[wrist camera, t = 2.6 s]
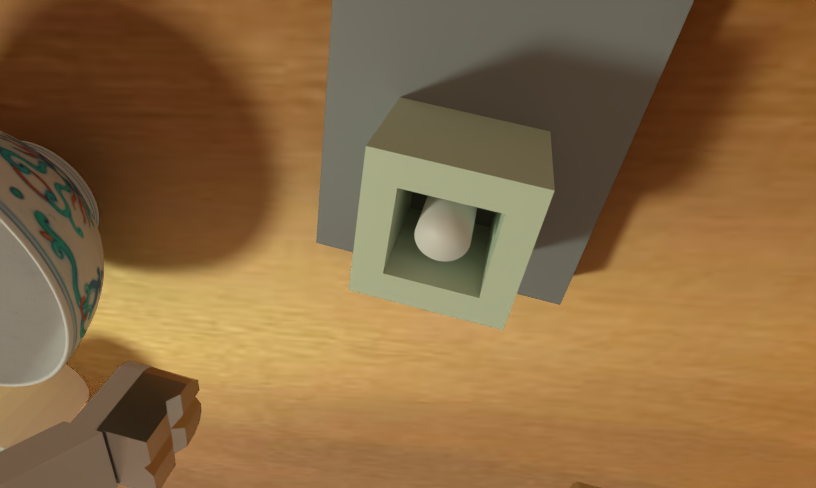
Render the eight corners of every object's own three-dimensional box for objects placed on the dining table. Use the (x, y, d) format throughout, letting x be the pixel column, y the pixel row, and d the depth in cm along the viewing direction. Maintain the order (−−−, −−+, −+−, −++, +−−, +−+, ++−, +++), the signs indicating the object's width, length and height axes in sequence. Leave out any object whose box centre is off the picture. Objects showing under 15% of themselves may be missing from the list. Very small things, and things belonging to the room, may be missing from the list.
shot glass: (92, 366, 38) (15, 447, 33) (100, 419, 42) (33, 500, 37) (6, 336, 38) (-86, 411, 33) (22, 392, 42) (-57, 468, 37)
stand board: (835, -379, 13) (1098, -626, 7) (558, 279, 26) (565, 396, 20) (384, -444, 14) (270, -712, 8) (329, 222, 27) (268, 316, 21)
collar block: (550, 131, 20) (554, 190, 16) (508, 255, 23) (503, 330, 19) (399, 97, 20) (365, 145, 16) (380, 223, 24) (348, 289, 20)
